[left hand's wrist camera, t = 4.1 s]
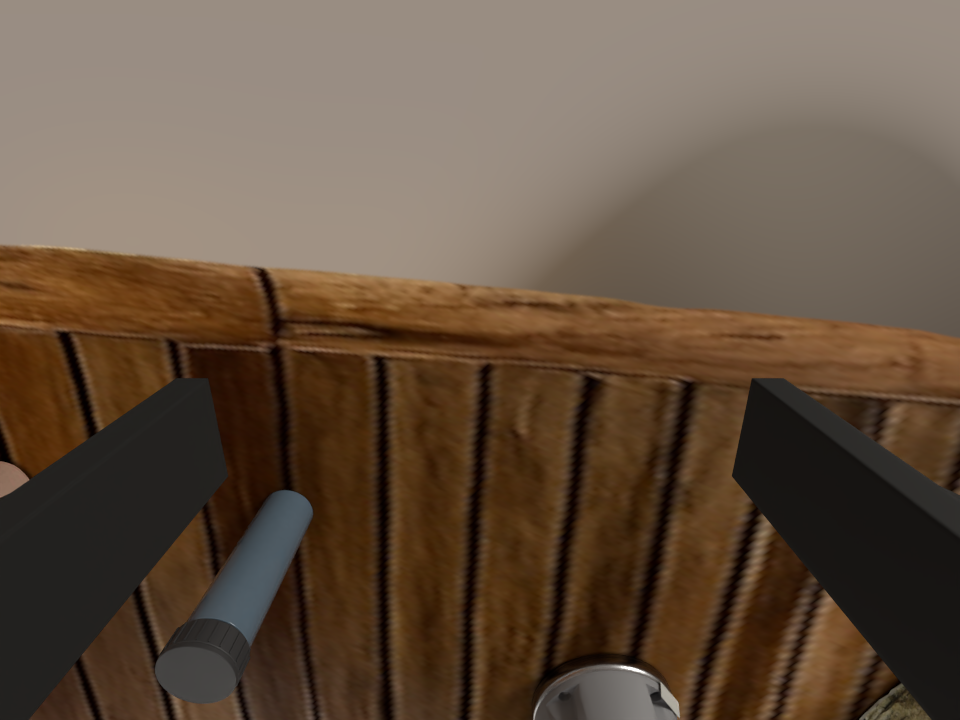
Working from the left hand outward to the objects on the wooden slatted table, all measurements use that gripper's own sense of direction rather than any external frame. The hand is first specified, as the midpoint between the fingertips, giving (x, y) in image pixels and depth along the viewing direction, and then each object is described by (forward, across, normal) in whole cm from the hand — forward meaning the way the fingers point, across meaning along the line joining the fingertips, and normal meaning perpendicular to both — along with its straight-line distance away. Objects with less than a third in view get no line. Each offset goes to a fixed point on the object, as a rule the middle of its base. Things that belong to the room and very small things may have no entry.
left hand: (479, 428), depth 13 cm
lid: (+12, +18, +24) cm, 32 cm away
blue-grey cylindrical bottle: (+28, +18, +24) cm, 41 cm away
